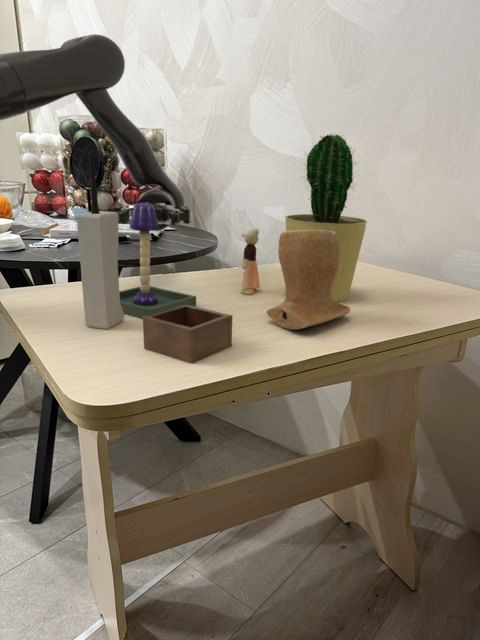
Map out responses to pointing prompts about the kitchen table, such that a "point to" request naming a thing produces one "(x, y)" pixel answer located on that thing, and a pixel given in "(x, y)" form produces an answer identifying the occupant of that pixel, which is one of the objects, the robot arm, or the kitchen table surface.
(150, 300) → the toy lamp
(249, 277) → the grandmother figurine
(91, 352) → the kitchen table surface
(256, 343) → the kitchen table surface
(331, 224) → the potted cactus
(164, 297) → the tray
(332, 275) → the brown flared block
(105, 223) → the utensil holder
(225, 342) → the brown wooden box
